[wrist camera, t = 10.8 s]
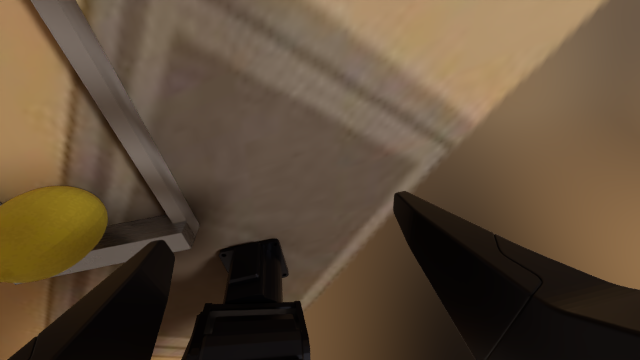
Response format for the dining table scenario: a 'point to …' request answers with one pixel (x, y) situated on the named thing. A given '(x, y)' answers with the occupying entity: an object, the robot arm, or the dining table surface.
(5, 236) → the lemon
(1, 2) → the dining table surface
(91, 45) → the channel
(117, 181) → the dining table surface
